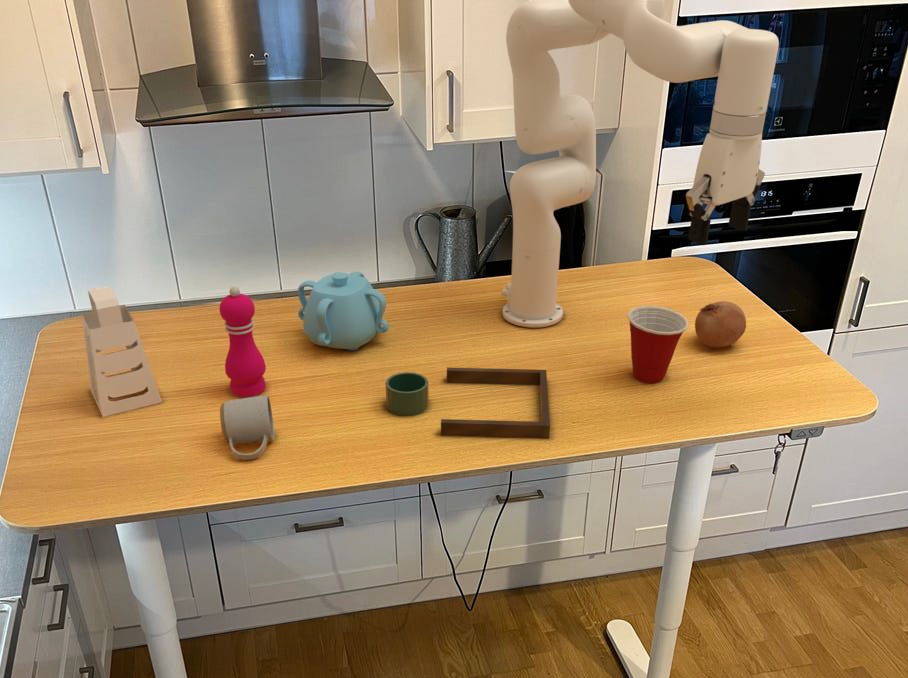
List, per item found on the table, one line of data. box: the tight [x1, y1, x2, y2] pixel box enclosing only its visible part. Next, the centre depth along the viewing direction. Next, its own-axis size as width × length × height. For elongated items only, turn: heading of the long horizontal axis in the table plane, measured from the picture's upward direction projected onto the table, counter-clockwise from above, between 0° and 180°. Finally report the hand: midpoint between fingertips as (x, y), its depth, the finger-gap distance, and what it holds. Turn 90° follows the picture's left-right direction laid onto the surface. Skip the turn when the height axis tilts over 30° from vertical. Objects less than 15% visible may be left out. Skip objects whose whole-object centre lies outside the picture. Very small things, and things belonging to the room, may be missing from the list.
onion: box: [694, 300, 747, 349], centre depth 180 cm, size 10×9×10 cm
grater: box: [81, 285, 163, 418], centre depth 162 cm, size 10×10×20 cm
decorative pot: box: [297, 271, 390, 351], centre depth 182 cm, size 16×16×14 cm
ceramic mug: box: [219, 394, 275, 461], centre depth 152 cm, size 11×8×8 cm
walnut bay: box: [440, 367, 551, 439], centre depth 163 cm, size 18×19×2 cm
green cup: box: [384, 371, 430, 417], centre depth 163 cm, size 7×7×5 cm
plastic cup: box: [627, 305, 689, 384], centre depth 168 cm, size 11×11×12 cm
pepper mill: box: [219, 286, 267, 398], centre depth 164 cm, size 7×7×20 cm
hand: (717, 235), depth 146 cm, fingers open, 9 cm apart
